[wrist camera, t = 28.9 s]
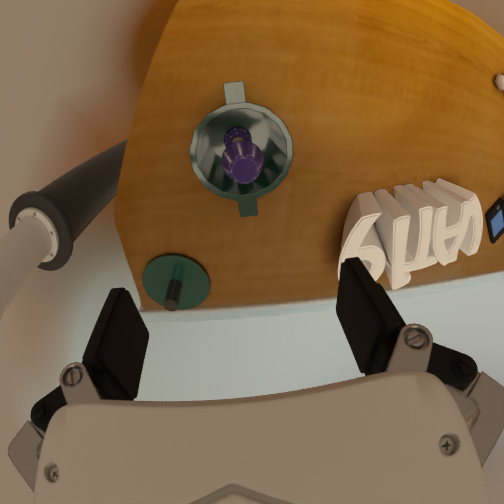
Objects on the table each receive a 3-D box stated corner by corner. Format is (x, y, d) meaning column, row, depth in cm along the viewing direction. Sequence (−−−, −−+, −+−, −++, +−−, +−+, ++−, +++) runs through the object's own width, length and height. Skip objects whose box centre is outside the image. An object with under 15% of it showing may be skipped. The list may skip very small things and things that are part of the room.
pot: (208, 199, 45) (202, 224, 37) (191, 91, 35) (179, 90, 27) (283, 189, 45) (295, 213, 37) (275, 81, 35) (287, 77, 27)
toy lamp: (259, 134, 39) (276, 157, 25) (247, 160, 41) (256, 198, 27) (230, 122, 38) (228, 138, 24) (218, 149, 40) (210, 182, 26)
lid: (155, 308, 57) (149, 332, 51) (134, 257, 50) (124, 279, 44) (215, 303, 57) (214, 328, 51) (202, 248, 50) (198, 271, 44)
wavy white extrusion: (465, 175, 44) (497, 194, 35) (455, 239, 53) (480, 264, 44) (321, 193, 46) (343, 219, 37) (326, 269, 54) (342, 305, 45)
